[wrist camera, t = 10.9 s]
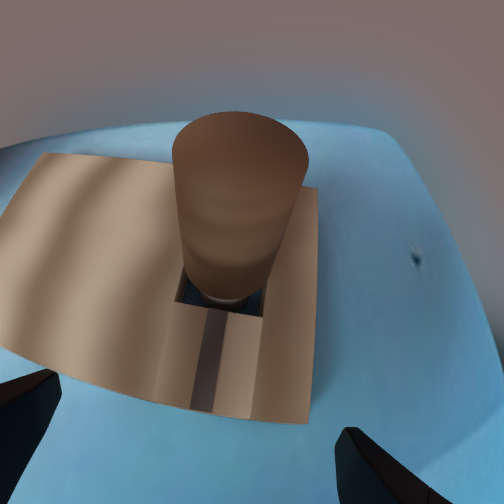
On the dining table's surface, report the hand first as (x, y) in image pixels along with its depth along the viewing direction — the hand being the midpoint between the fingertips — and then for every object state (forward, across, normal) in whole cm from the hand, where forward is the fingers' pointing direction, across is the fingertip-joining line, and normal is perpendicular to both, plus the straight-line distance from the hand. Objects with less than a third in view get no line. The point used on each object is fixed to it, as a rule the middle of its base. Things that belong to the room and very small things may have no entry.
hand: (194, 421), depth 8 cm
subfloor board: (+11, +6, 0) cm, 13 cm away
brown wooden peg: (+11, 0, 0) cm, 11 cm away
